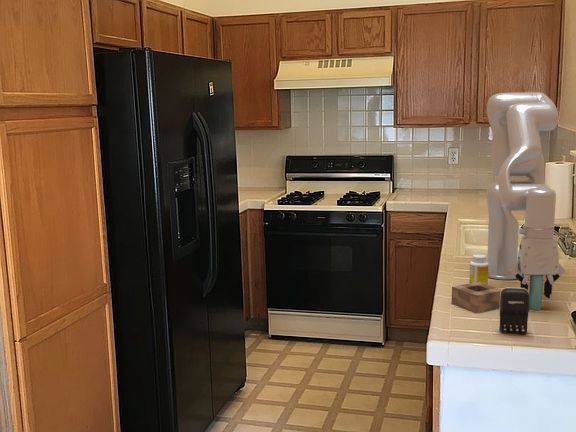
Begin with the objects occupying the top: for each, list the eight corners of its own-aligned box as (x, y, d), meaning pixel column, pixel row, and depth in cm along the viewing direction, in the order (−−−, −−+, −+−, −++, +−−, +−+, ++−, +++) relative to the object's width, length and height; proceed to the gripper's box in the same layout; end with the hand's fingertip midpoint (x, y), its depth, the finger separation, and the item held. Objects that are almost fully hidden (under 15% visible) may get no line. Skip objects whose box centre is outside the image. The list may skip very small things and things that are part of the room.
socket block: (477, 298, 187) (478, 281, 186) (503, 307, 178) (503, 290, 177) (451, 303, 182) (451, 286, 181) (476, 313, 173) (477, 295, 172)
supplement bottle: (490, 287, 197) (492, 255, 196) (482, 291, 193) (483, 258, 192) (474, 284, 201) (475, 252, 199) (465, 288, 197) (466, 256, 195)
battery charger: (499, 334, 157) (501, 290, 155) (497, 329, 160) (499, 286, 159) (529, 336, 155) (531, 291, 153) (526, 331, 159) (529, 287, 157)
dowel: (534, 305, 179) (536, 264, 177) (544, 308, 176) (546, 267, 174) (525, 307, 177) (527, 266, 175) (535, 310, 174) (537, 268, 172)
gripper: (510, 236, 170) (508, 300, 173) (576, 235, 169) (572, 301, 172) (503, 230, 177) (500, 292, 180) (566, 230, 176) (562, 293, 179)
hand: (535, 296), depth 176 cm, fingers open, 5 cm apart
